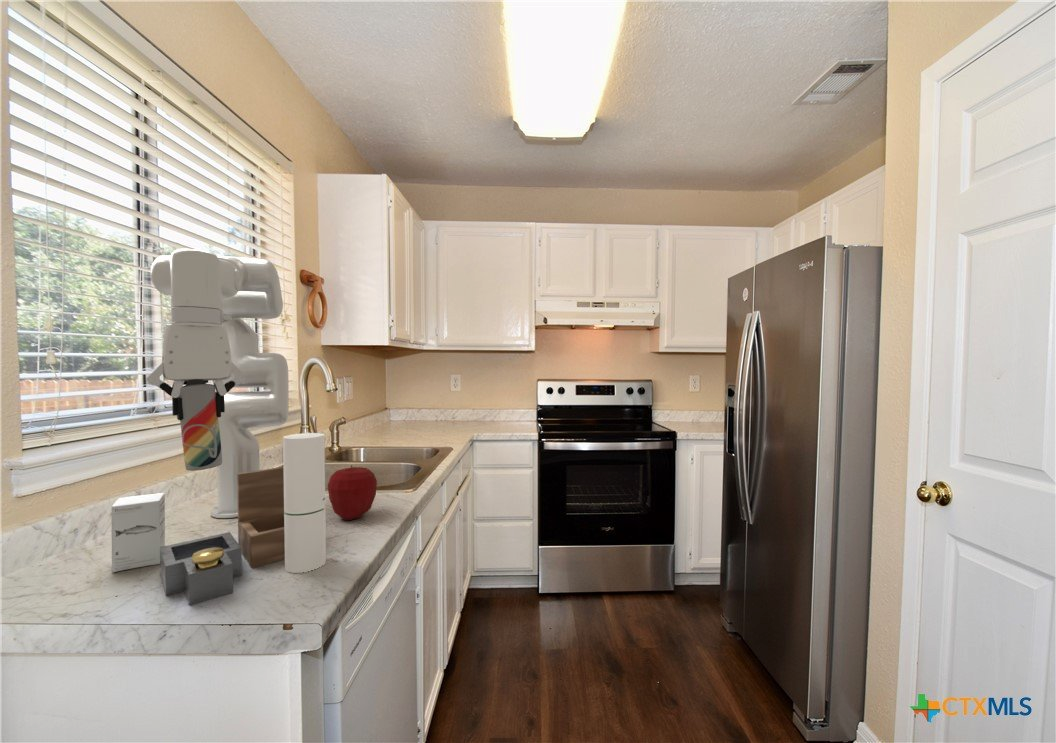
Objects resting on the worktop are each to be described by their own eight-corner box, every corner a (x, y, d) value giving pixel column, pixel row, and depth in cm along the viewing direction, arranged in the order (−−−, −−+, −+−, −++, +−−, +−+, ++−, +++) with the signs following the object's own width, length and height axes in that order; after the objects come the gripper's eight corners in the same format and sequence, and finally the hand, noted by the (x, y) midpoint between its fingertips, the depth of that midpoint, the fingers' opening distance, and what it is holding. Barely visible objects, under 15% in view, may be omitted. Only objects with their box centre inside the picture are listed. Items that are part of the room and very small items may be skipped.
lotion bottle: (203, 471, 81) (191, 359, 80) (177, 471, 82) (165, 361, 81) (230, 462, 87) (219, 358, 85) (205, 462, 88) (194, 359, 86)
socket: (160, 573, 84) (159, 547, 84) (230, 556, 92) (229, 532, 92) (169, 611, 71) (169, 579, 71) (249, 587, 79) (249, 558, 79)
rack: (238, 549, 96) (237, 473, 95) (295, 535, 103) (294, 465, 103) (251, 568, 87) (250, 484, 86) (312, 551, 94) (311, 474, 94)
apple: (366, 525, 109) (366, 470, 109) (318, 525, 109) (318, 470, 109) (383, 509, 121) (383, 459, 121) (340, 509, 121) (339, 460, 121)
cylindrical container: (330, 555, 92) (328, 432, 92) (320, 571, 85) (318, 438, 85) (292, 558, 91) (290, 433, 90) (279, 574, 84) (277, 439, 83)
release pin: (191, 586, 78) (190, 552, 77) (221, 577, 81) (221, 545, 80) (194, 595, 74) (193, 560, 74) (226, 586, 77) (225, 552, 77)
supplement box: (110, 574, 85) (109, 506, 84) (119, 559, 91) (118, 496, 91) (161, 564, 88) (159, 500, 88) (166, 551, 95) (165, 491, 95)
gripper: (246, 323, 92) (248, 412, 92) (135, 317, 80) (137, 420, 81) (255, 320, 86) (256, 416, 87) (137, 314, 75) (139, 424, 75)
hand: (199, 417), depth 84 cm, fingers closed on lotion bottle, 5 cm apart
